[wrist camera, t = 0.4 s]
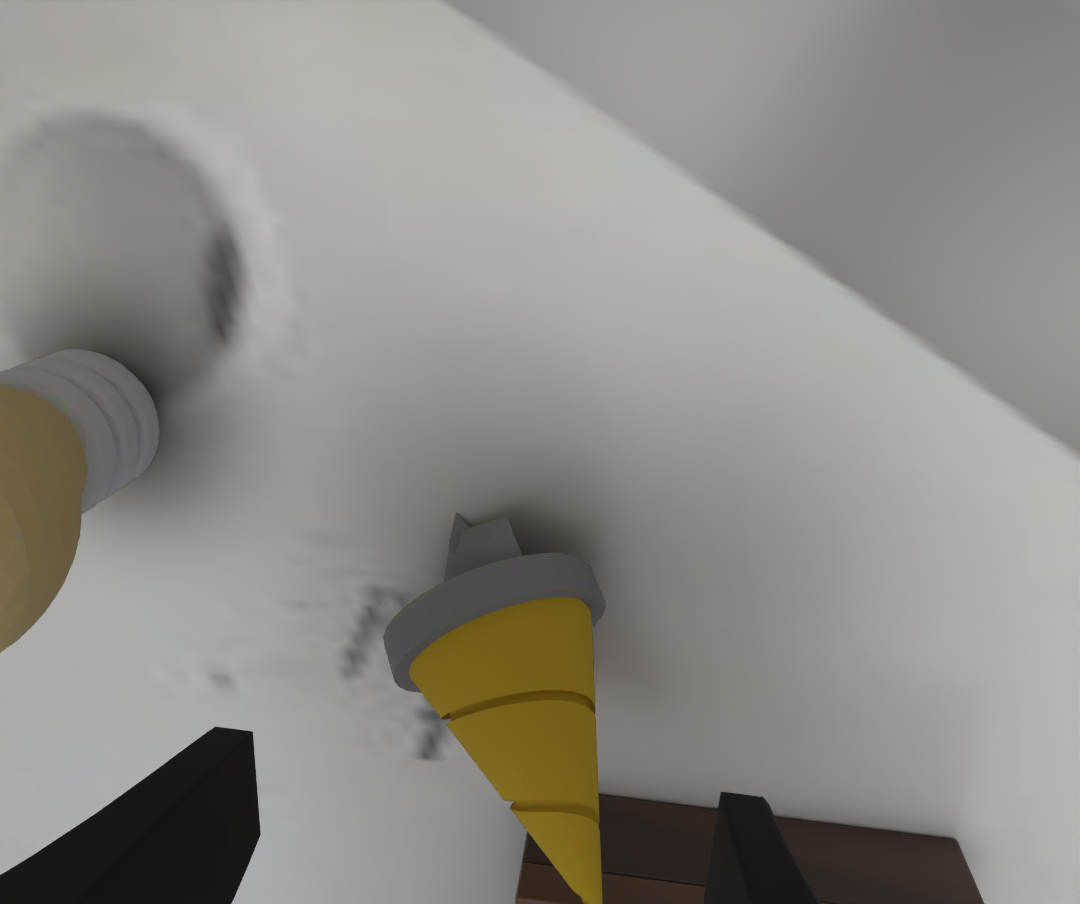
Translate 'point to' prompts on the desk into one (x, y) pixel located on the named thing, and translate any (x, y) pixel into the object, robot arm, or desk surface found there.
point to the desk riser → (820, 849)
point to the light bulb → (61, 468)
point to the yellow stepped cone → (515, 683)
